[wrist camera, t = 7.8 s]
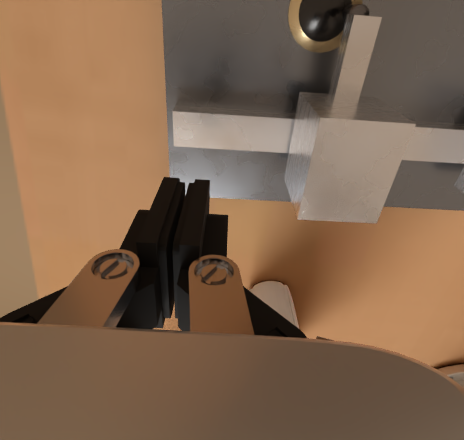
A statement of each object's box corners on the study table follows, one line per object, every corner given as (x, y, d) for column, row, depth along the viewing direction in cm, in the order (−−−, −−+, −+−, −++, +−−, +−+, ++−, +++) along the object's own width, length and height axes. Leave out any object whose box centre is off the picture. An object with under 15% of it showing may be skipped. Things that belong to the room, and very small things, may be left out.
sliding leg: (393, 7, 15) (461, 10, 11) (343, 174, 20) (376, 223, 16) (311, 0, 15) (346, 0, 11) (281, 171, 20) (297, 219, 16)
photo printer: (294, 344, 34) (324, 492, 24) (254, 348, 34) (266, 495, 24) (291, 275, 28) (328, 431, 18) (243, 281, 29) (252, 437, 18)
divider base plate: (604, -38, 16) (820, -60, 10) (468, 200, 24) (546, 265, 18) (163, -80, 15) (122, -130, 9) (173, 184, 23) (155, 248, 17)
